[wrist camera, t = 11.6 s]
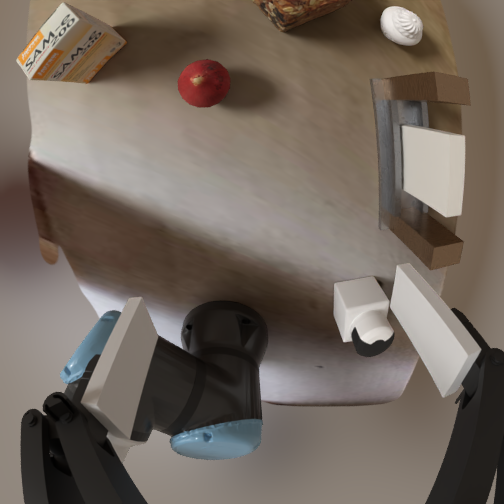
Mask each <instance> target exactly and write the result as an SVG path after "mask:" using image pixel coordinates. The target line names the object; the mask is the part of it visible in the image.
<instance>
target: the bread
mask: <svg viewBox="0 0 504 504" xmlns="http://www.w3.org/2000/svg"><path fill="white" fill-rule="evenodd" d="M252 1H253V2H254V3H255V4H257V6H258V7H259V9H260V10H261V11H262V12H263V13H264V14H265V15H266V16H267V17H268V18H269V20H270V21H271V22H272V23H273V24H274V25H275V27H276V28H278V30H279V31H280V32H286V31H288V30H290V29H291V28H294V27H296V26H299V25H301V24H303V23H306V22H308V21H311V20H313V19H315V18H318V17H321V16H324V15H326V14H329V13H331V12H333V11H335V10H337V9H339V8H342V7H344V6H345V5H347V4H348V3H349V2H350V1H352V0H252Z"/></svg>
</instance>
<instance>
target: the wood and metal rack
mask: <svg viewBox="0 0 504 504" xmlns="http://www.w3.org/2000/svg"><path fill="white" fill-rule="evenodd" d="M370 84H371V90H372V98H373V106H374V114H375V124H376V136H377V149H378V169H379V229H380V230H385V229H390V230H391V231H392V232H393V233H394V234H395V235H396V236H397V237H398V238H399V239H400V240H401V241H402V242H403V243H404V244H405V245H406V246H407V247H408V248H409V249H410V250H411V251H412V252H413V253H414V254H415V255H416V256H417V257H418V258H419V259H420V260H421V261H422V262H423V263H424V264H425V265H426V266H427V267H428V268H429V270H434V269H438V268H442V267H446V266H450V265H454V264H458V263H459V262H460V258H461V253H462V248H463V243H464V242H463V241H462V240H461V239H460V238H458V237H457V236H456V235H455V234H453V233H452V232H451V231H449V230H448V229H447V228H446V227H444V226H443V225H442V224H440V223H439V222H437V221H436V220H435V219H433V218H432V217H431V216H429V215H428V214H426V213H428V205H427V204H425V203H424V202H422V201H421V200H419V199H417V198H416V197H414V196H413V195H411V194H409V193H408V192H406V191H404V190H403V189H402V170H401V141H400V126H399V125H415V126H420V127H426V128H429V121H428V109H427V102H436V103H450V104H461V105H470V94H469V86H468V79H466V78H461V77H457V76H453V75H448V74H443V73H438V72H427V73H419V74H411V75H404V76H397V77H391V78H386V79H370Z"/></svg>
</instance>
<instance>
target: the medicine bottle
mask: <svg viewBox="0 0 504 504" xmlns="http://www.w3.org/2000/svg"><path fill="white" fill-rule="evenodd" d="M389 303H390V301H389V299H388V297H387V296H386V294H385V293H384V291H383V290H382V288H381V287H380V285H379V284H378V282H377V281H376V279H375V278H374V277H373V276H370V277H365V278H359V279H354V280H348V281H342V282H336V283H335V284H334V317H335V320H336V323H337V326H338V328H339V331H340V334H341V337H342V339H343V342H349V341H353V343H354V346H355V349H356V351H357V353H358V354H359V355H361V356H365V357H371V356H375V355H378V354H380V353H382V352H384V351H385V350H386V349H387V348H388V347H389V346H390V345H391V344H392V342H393V339H394V331H393V329H392V327H391V325H390V324H389V322H388V320H387V314H388V308H389Z"/></svg>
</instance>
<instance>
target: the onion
mask: <svg viewBox="0 0 504 504" xmlns="http://www.w3.org/2000/svg"><path fill="white" fill-rule="evenodd" d="M229 89H230V76H229V74H228V71H227V69H226V68H225V67H223V66H222V65H221V64H220V63H219V62H216V61H212V60H208V59H206V60H199V61H196V62H194V63H192V64H190V65H188V66H187V67H186V68H185V69H184V70H183V72H182V73H181V75H180V77H179V79H178V90H179V92H180V94H181V96H182V98H183V99H184V100H185V101H186V102H187V103H189V104H190V105H193V106H196V107H211V106H213V105H215V104H218V103H219V102H220V101H221V100H222V99H223V98H224V97H225V96H226V94H227V93H228V91H229Z"/></svg>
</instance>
